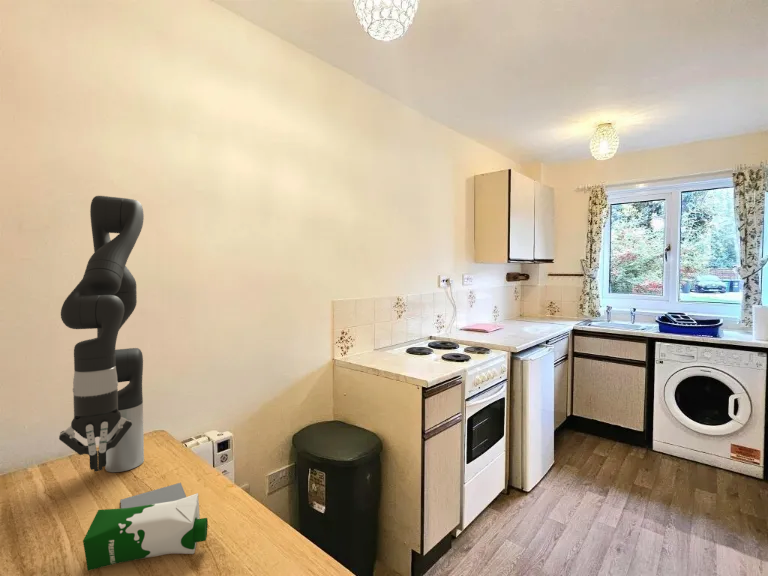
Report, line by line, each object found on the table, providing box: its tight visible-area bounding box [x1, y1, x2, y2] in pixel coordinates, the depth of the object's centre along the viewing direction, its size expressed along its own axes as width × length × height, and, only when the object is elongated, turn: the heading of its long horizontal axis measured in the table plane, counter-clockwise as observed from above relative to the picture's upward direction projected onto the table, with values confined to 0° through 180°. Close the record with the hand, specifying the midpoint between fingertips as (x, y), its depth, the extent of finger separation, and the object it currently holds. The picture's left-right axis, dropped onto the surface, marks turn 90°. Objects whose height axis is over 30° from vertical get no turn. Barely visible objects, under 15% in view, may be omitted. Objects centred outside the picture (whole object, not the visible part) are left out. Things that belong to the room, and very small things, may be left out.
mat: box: [119, 482, 187, 508], centre depth 89 cm, size 20×13×1 cm, turn 36°
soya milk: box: [82, 492, 209, 571], centre depth 77 cm, size 9×9×20 cm
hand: (98, 469), depth 83 cm, fingers closed
